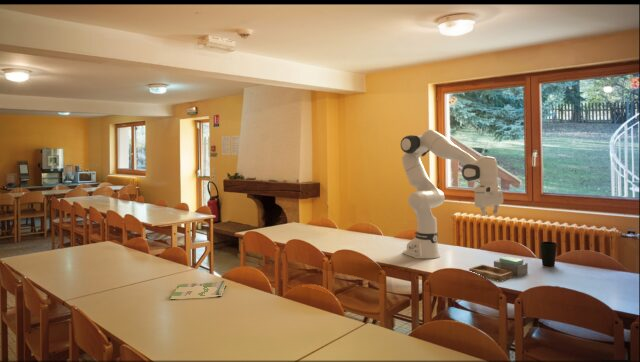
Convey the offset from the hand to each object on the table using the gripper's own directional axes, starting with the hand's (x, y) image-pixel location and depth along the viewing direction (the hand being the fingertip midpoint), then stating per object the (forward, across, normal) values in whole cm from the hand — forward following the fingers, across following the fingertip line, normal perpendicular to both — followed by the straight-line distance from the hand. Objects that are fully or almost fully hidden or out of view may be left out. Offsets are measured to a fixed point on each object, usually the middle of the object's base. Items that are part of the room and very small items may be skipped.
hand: (490, 214), depth 217 cm
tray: (+28, +9, +5) cm, 30 cm away
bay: (+29, -2, +10) cm, 31 cm away
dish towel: (+27, +131, -66) cm, 149 cm away
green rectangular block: (+29, -2, +8) cm, 30 cm away
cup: (+29, -27, +16) cm, 42 cm away
